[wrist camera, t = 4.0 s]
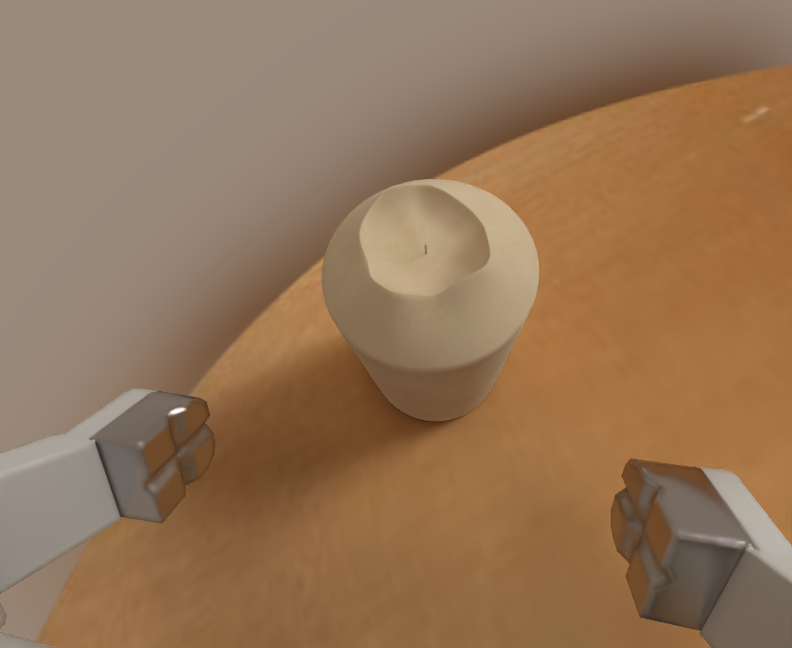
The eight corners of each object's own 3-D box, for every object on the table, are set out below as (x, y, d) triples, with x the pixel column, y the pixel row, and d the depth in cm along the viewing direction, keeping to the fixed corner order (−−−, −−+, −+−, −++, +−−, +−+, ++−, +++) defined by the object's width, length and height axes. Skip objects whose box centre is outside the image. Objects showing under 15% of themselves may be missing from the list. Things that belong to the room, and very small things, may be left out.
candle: (522, 348, 18) (604, 205, 9) (447, 450, 17) (451, 408, 8) (423, 283, 20) (405, 104, 11) (349, 371, 19) (254, 258, 9)
